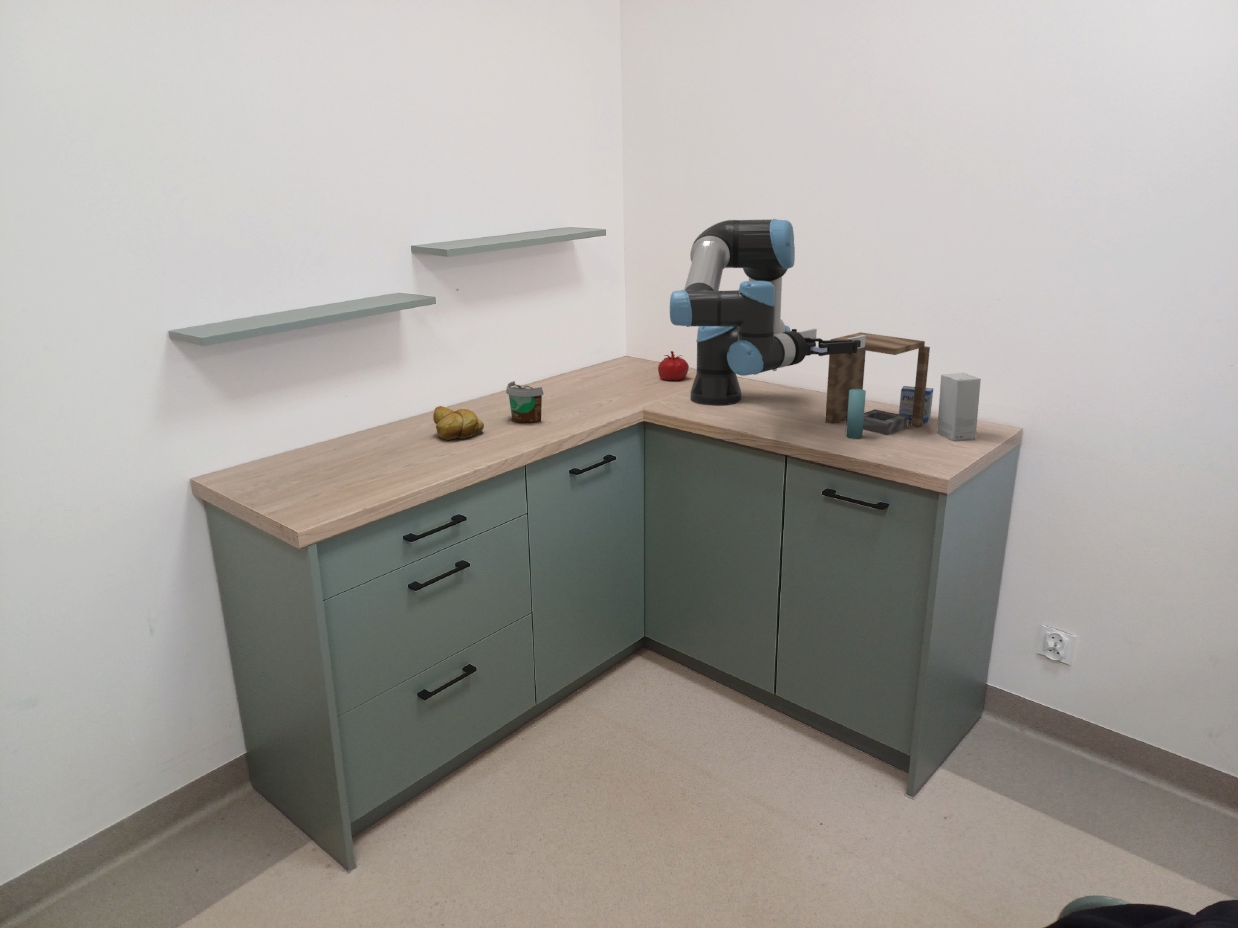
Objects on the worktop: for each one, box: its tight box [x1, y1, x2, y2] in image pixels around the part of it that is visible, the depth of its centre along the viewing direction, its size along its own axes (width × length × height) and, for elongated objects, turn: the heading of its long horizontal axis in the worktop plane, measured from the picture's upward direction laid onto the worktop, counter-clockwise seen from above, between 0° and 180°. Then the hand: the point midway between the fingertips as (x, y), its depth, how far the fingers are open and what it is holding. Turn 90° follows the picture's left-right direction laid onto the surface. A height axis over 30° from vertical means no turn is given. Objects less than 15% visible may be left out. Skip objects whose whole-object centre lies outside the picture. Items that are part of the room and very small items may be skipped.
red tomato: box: [657, 350, 690, 382], centre depth 285 cm, size 10×10×9 cm
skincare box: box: [936, 372, 982, 442], centre depth 218 cm, size 8×7×16 cm
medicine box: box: [898, 385, 934, 423], centre depth 235 cm, size 8×4×9 cm, turn 65°
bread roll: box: [432, 405, 485, 441], centre depth 227 cm, size 13×10×8 cm
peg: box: [845, 389, 867, 440], centre depth 220 cm, size 4×4×12 cm
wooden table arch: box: [824, 332, 931, 436], centre depth 229 cm, size 15×20×22 cm
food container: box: [505, 380, 544, 425], centre depth 239 cm, size 12×6×10 cm, turn 47°
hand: (839, 337), depth 206 cm, fingers open, 13 cm apart
